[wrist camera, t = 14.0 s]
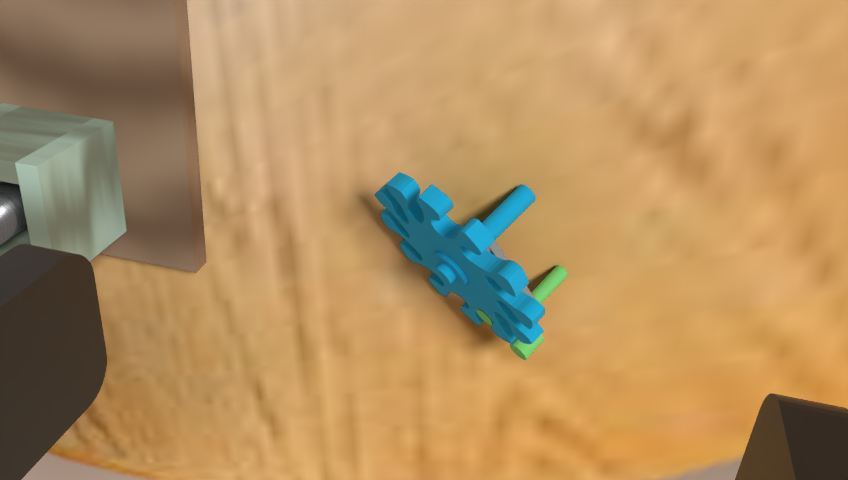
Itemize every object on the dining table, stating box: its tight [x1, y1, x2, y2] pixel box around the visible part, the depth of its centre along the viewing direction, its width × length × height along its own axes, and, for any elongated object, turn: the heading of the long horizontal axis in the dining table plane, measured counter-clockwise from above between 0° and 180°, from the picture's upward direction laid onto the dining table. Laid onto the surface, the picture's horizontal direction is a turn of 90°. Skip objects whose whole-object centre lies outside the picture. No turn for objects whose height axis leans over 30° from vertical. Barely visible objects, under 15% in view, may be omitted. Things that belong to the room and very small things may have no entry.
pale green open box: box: [0, 103, 127, 261], centre depth 41 cm, size 6×6×6 cm
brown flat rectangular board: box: [0, 0, 206, 273], centre depth 41 cm, size 22×14×1 cm, turn 176°
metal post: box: [0, 182, 27, 245], centre depth 40 cm, size 2×2×8 cm
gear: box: [375, 172, 568, 360], centre depth 38 cm, size 11×6×10 cm
